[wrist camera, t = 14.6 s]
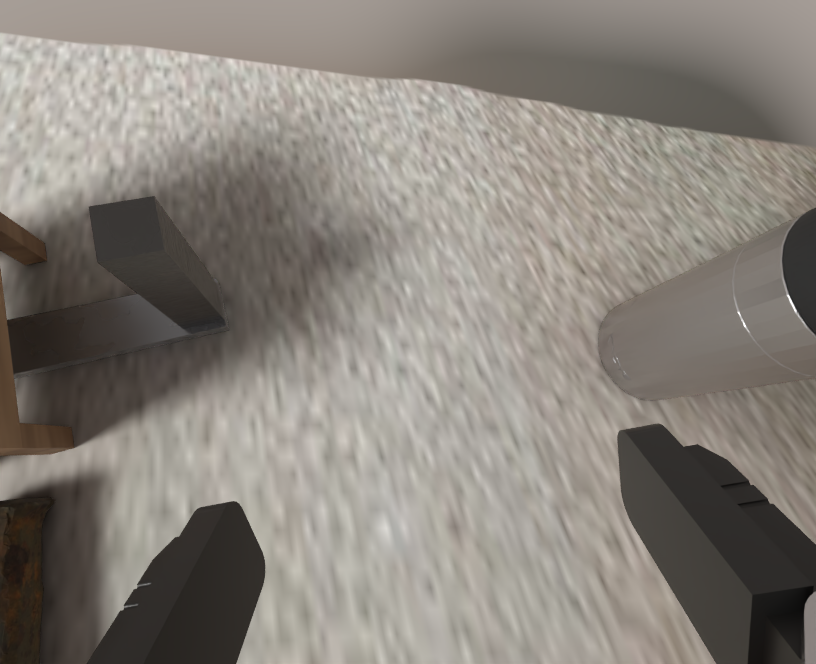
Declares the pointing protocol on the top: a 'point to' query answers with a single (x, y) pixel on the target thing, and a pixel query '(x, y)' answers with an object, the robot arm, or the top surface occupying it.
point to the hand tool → (21, 579)
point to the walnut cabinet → (3, 427)
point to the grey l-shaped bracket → (131, 315)
